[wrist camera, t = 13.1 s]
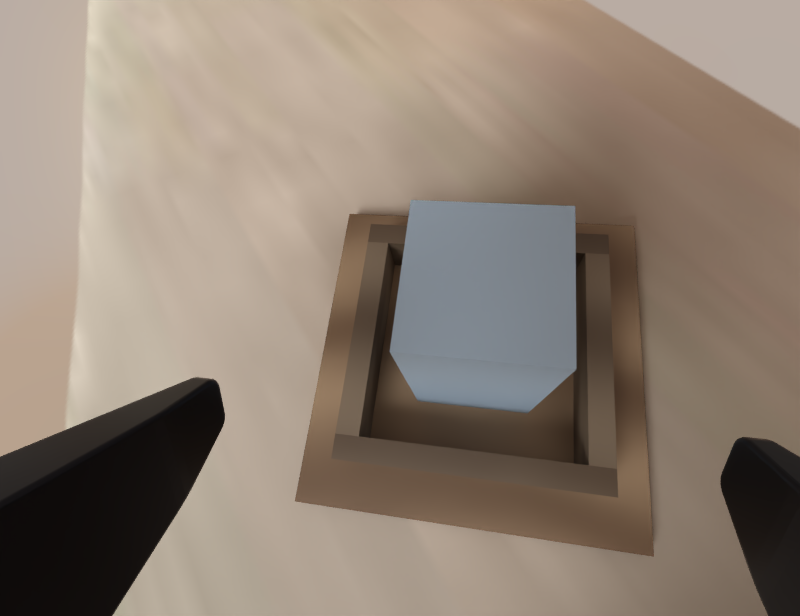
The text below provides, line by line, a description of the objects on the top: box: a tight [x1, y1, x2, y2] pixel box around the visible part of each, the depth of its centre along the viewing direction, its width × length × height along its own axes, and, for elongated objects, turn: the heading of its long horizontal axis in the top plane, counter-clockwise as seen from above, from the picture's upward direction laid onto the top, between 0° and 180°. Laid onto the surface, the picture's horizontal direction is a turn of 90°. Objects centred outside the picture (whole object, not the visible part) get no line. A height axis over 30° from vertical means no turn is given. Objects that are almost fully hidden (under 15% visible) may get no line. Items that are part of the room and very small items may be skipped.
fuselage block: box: [390, 200, 576, 413], centre depth 17 cm, size 5×5×9 cm
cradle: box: [295, 214, 654, 556], centre depth 20 cm, size 15×15×3 cm
